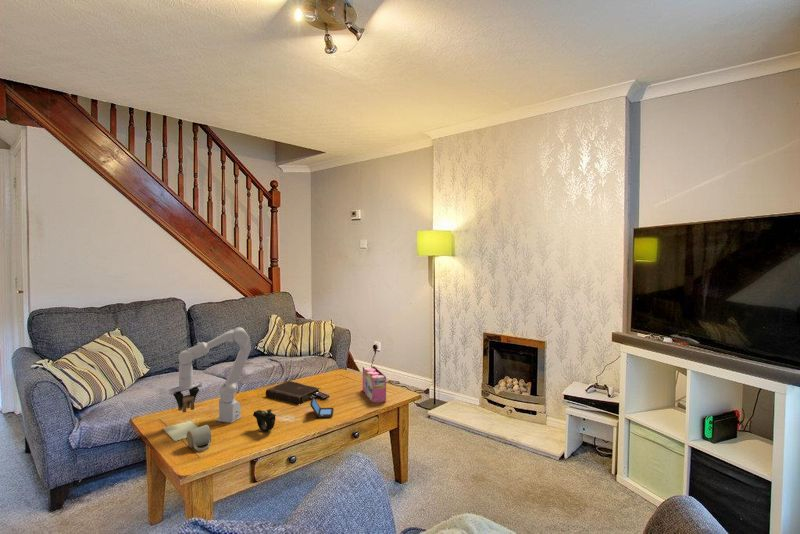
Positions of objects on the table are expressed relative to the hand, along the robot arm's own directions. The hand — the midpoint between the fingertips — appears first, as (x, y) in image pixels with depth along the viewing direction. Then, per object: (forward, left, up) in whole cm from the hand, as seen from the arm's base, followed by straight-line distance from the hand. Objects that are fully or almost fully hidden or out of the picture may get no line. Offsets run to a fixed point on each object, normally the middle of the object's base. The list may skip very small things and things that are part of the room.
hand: (186, 405), depth 202 cm
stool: (0, 0, -2) cm, 2 cm away
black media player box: (-26, -51, -10) cm, 58 cm away
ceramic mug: (-22, +16, -10) cm, 29 cm away
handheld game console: (-53, -32, -10) cm, 63 cm away
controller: (-38, -6, -9) cm, 40 cm away
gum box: (-68, -66, -10) cm, 95 cm away
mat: (-4, +6, -9) cm, 12 cm away
